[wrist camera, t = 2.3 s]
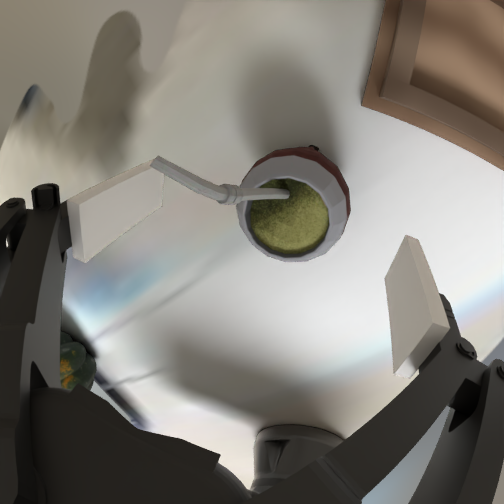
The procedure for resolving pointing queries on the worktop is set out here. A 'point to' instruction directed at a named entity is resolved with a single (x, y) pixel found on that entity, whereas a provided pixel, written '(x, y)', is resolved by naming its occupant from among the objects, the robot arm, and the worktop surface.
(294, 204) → the mate gourd
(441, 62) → the holder board
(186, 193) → the worktop surface
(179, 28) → the worktop surface
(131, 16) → the worktop surface
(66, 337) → the squash
